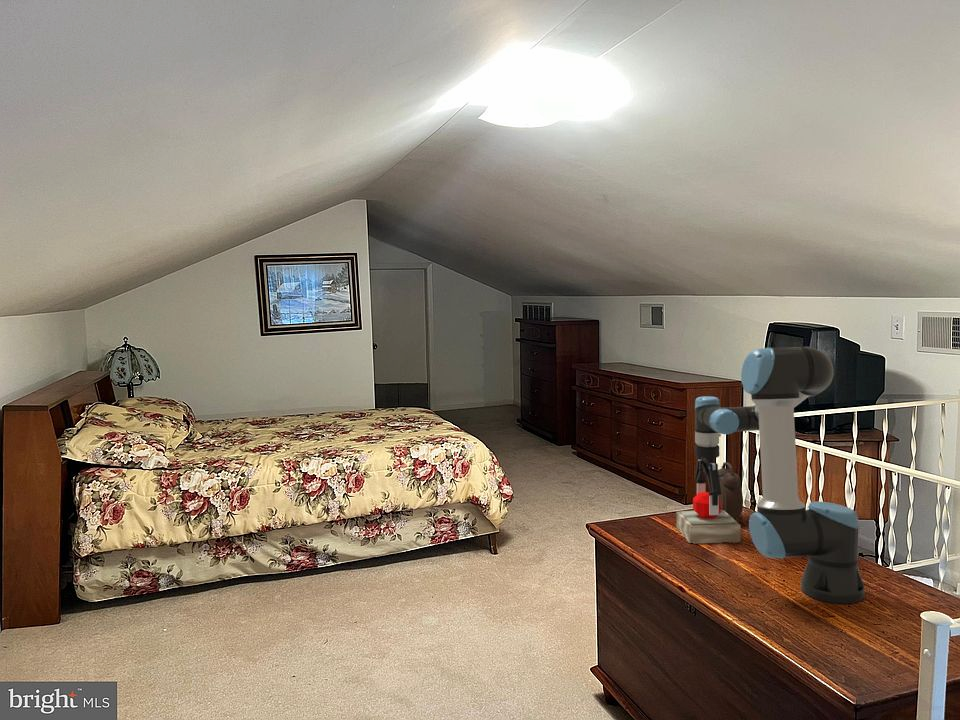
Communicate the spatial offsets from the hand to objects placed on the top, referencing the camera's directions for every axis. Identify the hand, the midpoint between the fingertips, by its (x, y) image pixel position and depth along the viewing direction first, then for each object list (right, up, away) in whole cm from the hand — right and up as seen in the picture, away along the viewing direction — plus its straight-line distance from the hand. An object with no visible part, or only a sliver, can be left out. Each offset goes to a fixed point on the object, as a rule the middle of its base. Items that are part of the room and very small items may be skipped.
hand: (707, 508), depth 241 cm
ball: (0, -3, 0) cm, 3 cm away
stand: (0, -9, +1) cm, 9 cm away
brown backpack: (+12, -7, +16) cm, 21 cm away
